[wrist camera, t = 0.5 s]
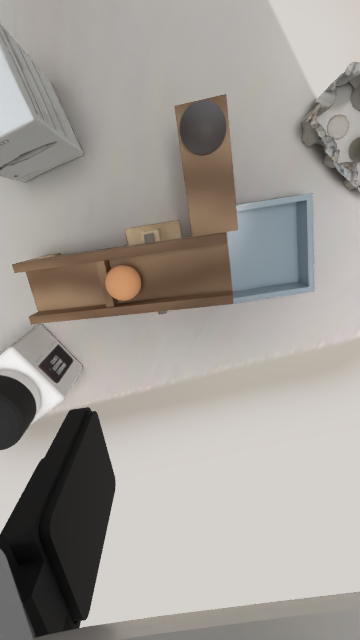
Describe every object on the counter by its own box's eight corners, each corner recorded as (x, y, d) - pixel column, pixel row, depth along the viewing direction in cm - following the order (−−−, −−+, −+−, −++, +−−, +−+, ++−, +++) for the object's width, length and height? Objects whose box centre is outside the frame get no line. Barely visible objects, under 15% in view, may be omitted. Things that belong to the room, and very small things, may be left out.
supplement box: (25, 184, 33) (-59, 166, 21) (-14, 110, 31) (-131, 42, 19) (86, 156, 33) (36, 121, 21) (52, 78, 30) (-27, -13, 18)
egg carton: (287, 130, 32) (302, 117, 29) (344, 66, 31) (368, 43, 27) (351, 203, 35) (373, 201, 31) (407, 147, 33) (438, 137, 29)
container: (41, 322, 38) (-23, 372, 26) (84, 366, 40) (45, 432, 28) (-2, 357, 40) (-82, 421, 27) (42, 399, 42) (-14, 475, 29)
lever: (-4, 151, 29) (-26, 146, 26) (226, 98, 24) (225, 86, 22) (47, 322, 34) (33, 331, 31) (244, 302, 30) (245, 311, 27)
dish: (207, 209, 35) (211, 209, 31) (299, 195, 34) (312, 192, 31) (218, 297, 38) (222, 305, 35) (301, 284, 38) (314, 291, 34)
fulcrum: (125, 228, 35) (116, 230, 29) (178, 220, 35) (179, 220, 29) (141, 305, 38) (135, 321, 32) (190, 297, 38) (193, 312, 32)
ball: (108, 264, 29) (96, 270, 26) (140, 260, 29) (132, 265, 26) (115, 297, 30) (104, 306, 27) (147, 293, 30) (140, 302, 27)
